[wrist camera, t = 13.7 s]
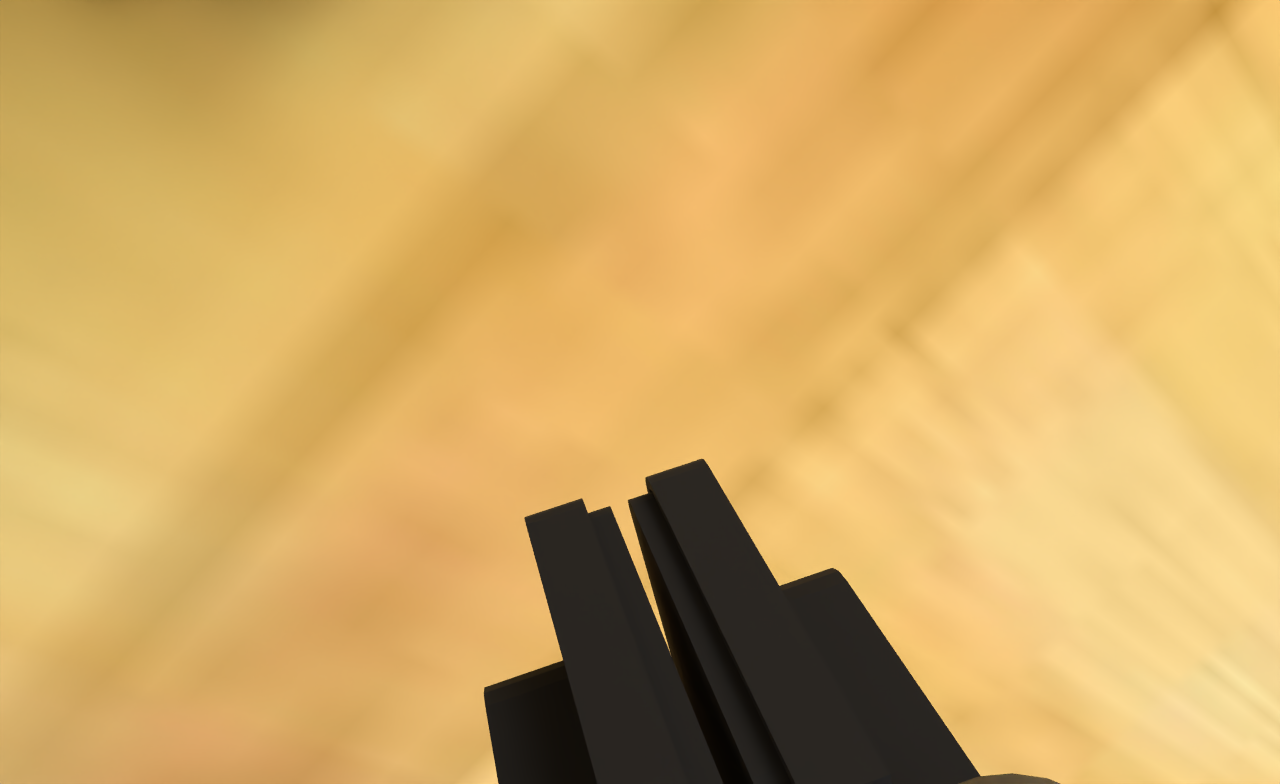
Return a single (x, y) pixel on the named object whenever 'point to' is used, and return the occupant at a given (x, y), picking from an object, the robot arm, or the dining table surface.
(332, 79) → the dining table surface
